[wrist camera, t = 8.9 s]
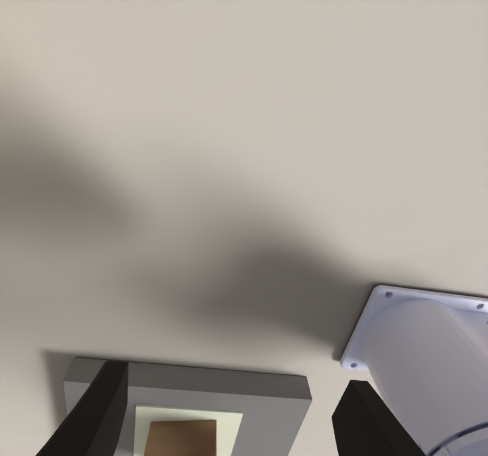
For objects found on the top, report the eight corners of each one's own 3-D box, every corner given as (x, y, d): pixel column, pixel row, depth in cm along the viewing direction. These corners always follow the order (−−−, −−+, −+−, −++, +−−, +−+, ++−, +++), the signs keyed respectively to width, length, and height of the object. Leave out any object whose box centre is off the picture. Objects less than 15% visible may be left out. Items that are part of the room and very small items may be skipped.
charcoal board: (306, 376, 26) (312, 401, 24) (273, 457, 31) (276, 483, 29) (75, 357, 24) (62, 383, 22) (82, 448, 29) (72, 475, 27)
